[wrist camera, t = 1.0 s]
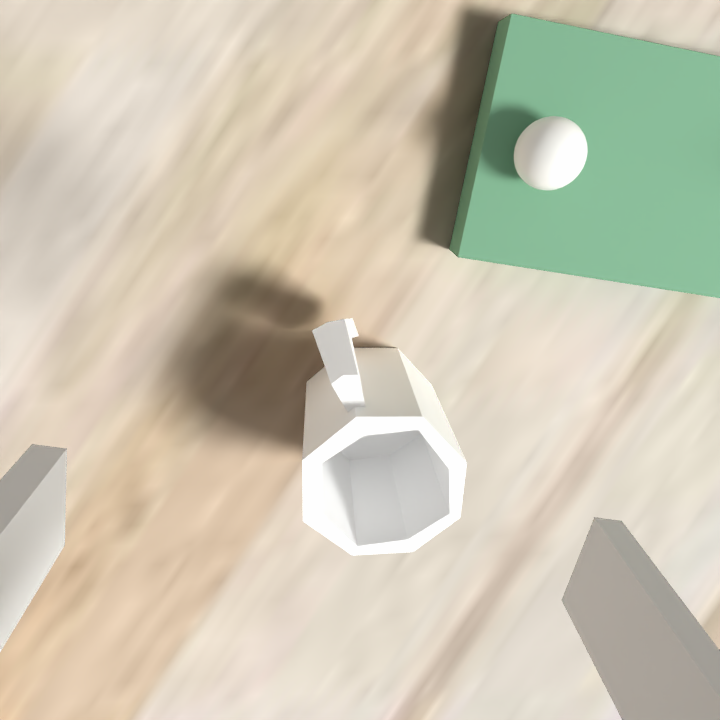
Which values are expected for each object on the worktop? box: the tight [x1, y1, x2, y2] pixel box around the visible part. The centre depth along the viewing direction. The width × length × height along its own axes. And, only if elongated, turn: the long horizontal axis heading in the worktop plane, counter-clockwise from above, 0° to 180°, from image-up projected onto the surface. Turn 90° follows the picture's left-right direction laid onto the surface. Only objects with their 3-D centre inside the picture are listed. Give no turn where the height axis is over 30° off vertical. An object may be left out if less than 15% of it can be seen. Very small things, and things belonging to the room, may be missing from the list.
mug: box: [302, 318, 467, 555], centre depth 33 cm, size 12×9×10 cm
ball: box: [514, 116, 588, 190], centre depth 30 cm, size 4×4×4 cm
